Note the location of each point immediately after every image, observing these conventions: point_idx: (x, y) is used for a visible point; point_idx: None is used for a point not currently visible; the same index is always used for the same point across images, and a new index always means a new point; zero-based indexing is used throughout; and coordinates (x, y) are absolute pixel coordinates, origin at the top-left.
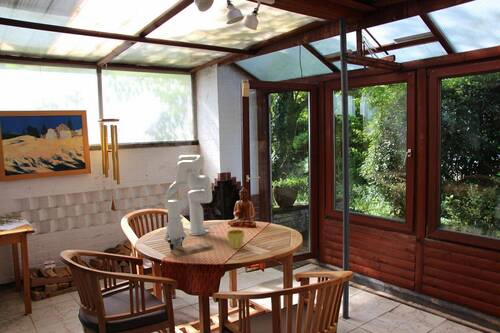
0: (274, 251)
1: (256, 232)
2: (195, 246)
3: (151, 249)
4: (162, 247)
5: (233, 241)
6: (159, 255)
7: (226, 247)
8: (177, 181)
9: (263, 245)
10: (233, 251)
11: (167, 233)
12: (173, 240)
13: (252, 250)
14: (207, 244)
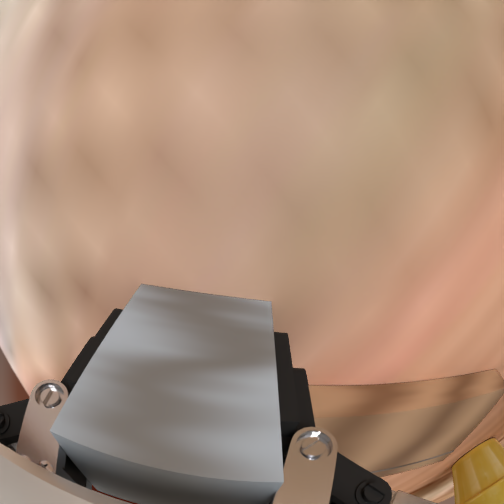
0: (434, 501)
1: None
2: (379, 448)
3: (24, 14)
4: None
5: (455, 497)
6: (7, 314)
7: (465, 447)
8: None
9: None
10: (407, 491)
11: None
12: (105, 483)
13: (434, 491)
14: (459, 436)
